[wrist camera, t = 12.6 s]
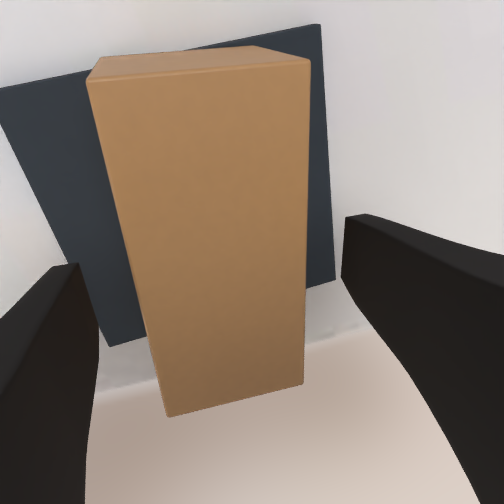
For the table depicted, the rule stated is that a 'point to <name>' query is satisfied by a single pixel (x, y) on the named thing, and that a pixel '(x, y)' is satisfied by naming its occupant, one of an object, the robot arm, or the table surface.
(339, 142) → the table surface
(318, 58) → the mat
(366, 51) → the table surface
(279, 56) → the cardboard box
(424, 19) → the table surface
